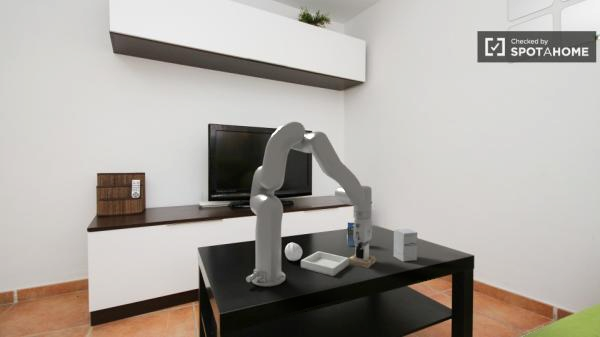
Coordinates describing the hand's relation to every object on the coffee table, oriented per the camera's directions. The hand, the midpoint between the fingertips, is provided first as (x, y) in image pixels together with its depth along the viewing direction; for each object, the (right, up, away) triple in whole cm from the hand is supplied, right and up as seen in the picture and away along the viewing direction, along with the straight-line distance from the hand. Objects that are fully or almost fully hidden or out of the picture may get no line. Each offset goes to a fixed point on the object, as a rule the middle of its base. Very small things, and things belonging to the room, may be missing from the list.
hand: (362, 255), depth 118 cm
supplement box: (+21, -3, +5) cm, 21 cm away
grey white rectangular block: (0, -3, 0) cm, 3 cm away
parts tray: (-16, -3, -4) cm, 17 cm away
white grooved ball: (-30, -3, +3) cm, 30 cm away
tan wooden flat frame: (0, -3, 0) cm, 3 cm away
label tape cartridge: (+2, -2, +24) cm, 24 cm away
